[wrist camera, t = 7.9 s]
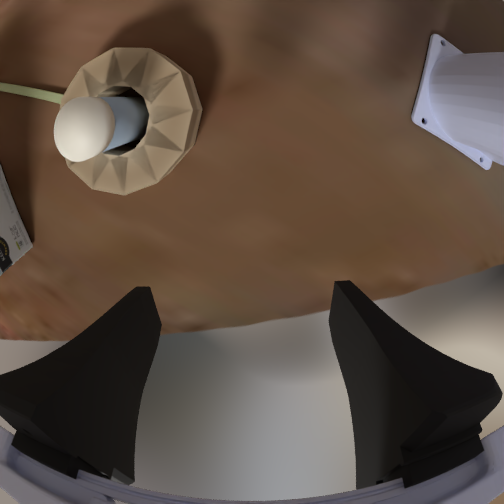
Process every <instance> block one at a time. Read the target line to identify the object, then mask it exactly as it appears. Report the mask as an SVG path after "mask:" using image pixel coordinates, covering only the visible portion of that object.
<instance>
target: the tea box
mask: <svg viewBox="0 0 504 504" xmlns="http://www.w3.org/2000/svg"><path fill="white" fill-rule="evenodd" d="M32 247H33V245H32V243H31V241H30V238H29V236H28V234H27V232H26V229H25V227H24V225H23V222H22V220H21V218H20V215H19V213H18V211H17V208H16V206H15V203H14V201H13V198H12V196H11V193H10V190H9V188H8V185H7V182H6V179H5V176H4V174H3V171H2V168H1V165H0V276H1V275H2V274H3V273H4V272H5V271H6V270H7V269H8V268H9V267H10V266H11V265H13V264H14V263H15V262H16V261H17V260H18V259H19V258H21V257H22V256H23V255H24V254H25V253H26V252H27V251H29V250H30V249H31V248H32Z"/></svg>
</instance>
